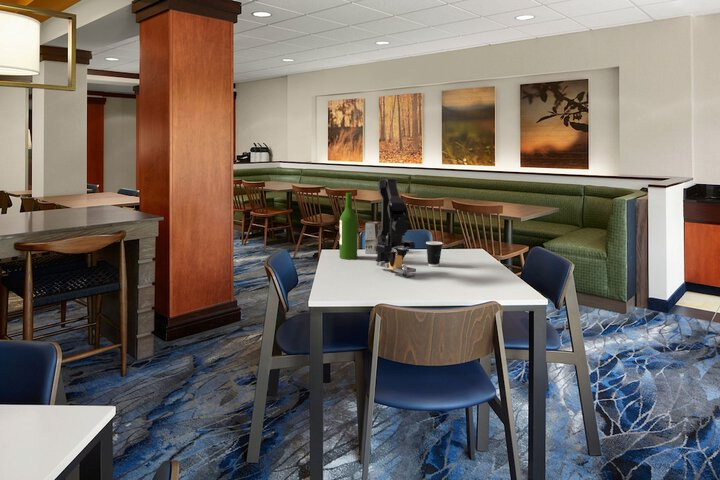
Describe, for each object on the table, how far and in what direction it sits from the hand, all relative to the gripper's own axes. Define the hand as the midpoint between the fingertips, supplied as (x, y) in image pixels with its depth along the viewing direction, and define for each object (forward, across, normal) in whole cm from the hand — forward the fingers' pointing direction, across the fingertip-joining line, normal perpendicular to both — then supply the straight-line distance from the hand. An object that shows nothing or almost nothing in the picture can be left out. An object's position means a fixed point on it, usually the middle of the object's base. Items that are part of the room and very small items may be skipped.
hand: (395, 265), depth 227 cm
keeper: (+3, 0, +6) cm, 7 cm away
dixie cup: (+4, -26, 0) cm, 26 cm away
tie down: (+2, 0, -1) cm, 2 cm away
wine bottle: (+4, -6, -39) cm, 40 cm away
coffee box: (+4, -26, -43) cm, 51 cm away
